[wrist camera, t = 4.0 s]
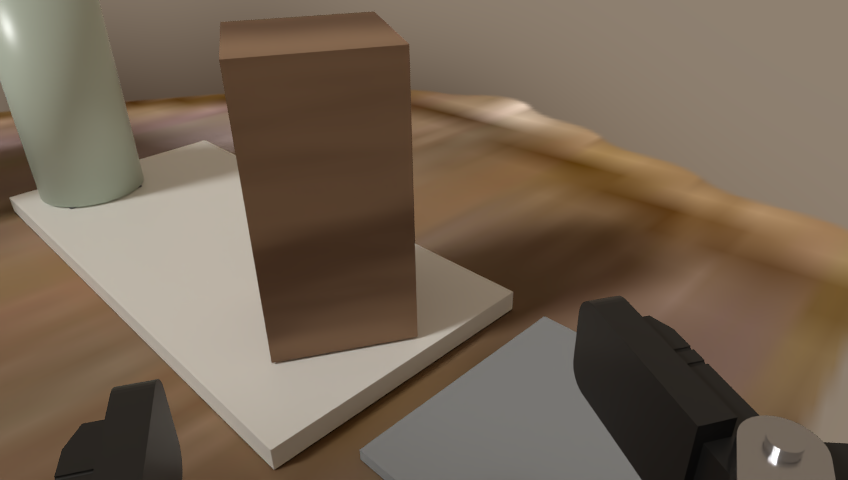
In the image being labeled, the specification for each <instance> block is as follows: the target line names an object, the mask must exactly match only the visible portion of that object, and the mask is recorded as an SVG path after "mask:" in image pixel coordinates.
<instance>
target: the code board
mask: <svg viewBox="0 0 848 480" xmlns="http://www.w3.org/2000/svg"><path fill="white" fill-rule="evenodd" d="M139 160H140V164H141V168H142V172H143V176H144V180H143V182H142V184H141V185H140V186H139V187H138V188H137V189H135V190H134V191H132V192H131V193H129V194H127V195H125V196H122V197H120V198H117V199H114V200H111V201H108V202H104V203H100V204H95V205H90V206H82V207H58V206H52V205H49V204H46V203H45V202H43V201H42V200H41V198H40V195H39V192H38V189H37V190H33V191H30V192H26V193H23V194H19V195H16V196H13V197H9V198H10V201H11V204H12V206H13V209H14V212H16V213H17V214H18V215H19V216H20V217H21V218H22V219H23V220H24V221H25V222H26V223H27V224H28V225H29V226H30V227H31V228H32V229H33V230H34V231H35V232H36V233H37V234H38V235H39V236H40V237H41V238H42V239H43V240H44V241H45V242H46V243H47V244H48V245H49V246H50V247H51V248H52V249H53V250H54V251H55V252H56V253H57V254H58V255H59V256H60V257H61V258H62V259H63V260H64V261H65V262H66V263H67V264H68V265H69V266H70V267H71V268H72V269H73V270H74V271H75V272H76V273H77V274H78V275H79V276H80V277H81V278H82V279H83V280H84V281H85V282H86V283H87V284H88V285H89V286H90V287H91V288H92V289H93V290H94V291H95V292H96V293H97V294H98V295H99V296H100V297H101V298H102V299H103V300H104V301H105V302H106V303H107V304H108V305H109V306H110V307H111V308H112V309H113V310H114V311H115V312H116V313H117V314H118V315H119V316H120V317H121V318H122V319H123V320H124V321H125V322H126V323H127V324H128V325H129V326H130V327H131V328H132V329H133V330H134V331H135V332H136V333H137V334H138V335H139V336H140V337H141V338H142V339H143V340H144V341H145V342H146V343H147V344H148V345H149V346H150V347H151V348H152V349H153V350H154V351H155V352H156V353H157V354H158V355H159V356H160V357H161V358H162V359H163V360H164V361H165V362H166V363H167V364H168V365H169V366H170V367H171V368H172V369H173V370H174V371H175V372H176V373H177V374H178V375H179V376H180V377H181V378H182V379H183V380H184V381H185V382H186V383H187V384H188V385H189V386H190V387H191V388H192V389H193V390H194V391H195V392H196V393H197V394H198V395H199V396H200V397H201V398H202V399H203V400H204V401H205V402H206V403H207V404H208V405H209V406H210V407H211V408H212V409H213V410H214V411H215V412H216V413H217V414H218V415H219V416H220V417H221V418H222V419H223V420H224V421H225V422H226V423H227V424H228V425H229V426H230V427H231V428H233V429H234V430H235V431H236V432H237V433H238V434H239V435H240V436H241V437H242V438H243V439H244V440H245V441H246V442H247V443H248V444H249V445H250V446H251V447H252V448H253V449H254V450H255V451H256V452H257V453H258V454H259V455H260V456H261V457H262V458H263V459H264V460H265V461H266V462H267V463H268V464H269V465H270V466H271V467H272V468H273V469H274V470H275V469H276V468H278V467H279V466H281V465H282V464H284V463H285V462H287V461H288V460H290V459H291V458H293V457H294V456H296V455H297V454H298V453H300V452H301V451H303V450H304V449H306V448H307V447H309V446H310V445H312V444H313V443H315V442H316V441H318V440H319V439H321V438H322V437H324V436H325V435H327V434H328V433H329V432H331V431H332V430H334V429H335V428H337V427H338V426H340V425H341V424H343V423H344V422H346V421H347V420H349V419H350V418H352V417H353V416H355V415H356V414H358V413H359V412H361V411H362V410H363V409H365V408H366V407H368V406H369V405H371V404H372V403H374V402H375V401H377V400H378V399H380V398H381V397H383V396H384V395H386V394H387V393H389V392H390V391H392V390H393V389H395V388H396V387H397V386H399V385H400V384H402V383H403V382H405V381H406V380H408V379H409V378H411V377H412V376H414V375H415V374H417V373H418V372H420V371H421V370H423V369H424V368H426V367H427V366H428V365H430V364H431V363H433V362H434V361H436V360H437V359H439V358H440V357H442V356H443V355H445V354H446V353H448V352H449V351H451V350H452V349H454V348H455V347H457V346H458V345H460V344H461V343H462V342H464V341H465V340H467V339H468V338H470V337H471V336H473V335H474V334H476V333H477V332H479V331H480V330H482V329H483V328H485V327H486V326H488V325H489V324H491V323H492V322H493V321H495V320H496V319H498V318H499V317H501V316H502V315H504V314H505V313H507V312H508V311H510V310H511V309H512V305H513V291H510V290H508V289H506V288H504V287H502V286H500V285H498V284H496V283H494V282H492V281H490V280H488V279H486V278H484V277H482V276H480V275H478V274H476V273H474V272H472V271H470V270H468V269H466V268H464V267H462V266H460V265H458V264H456V263H454V262H452V261H450V260H447V259H445V258H443V257H441V256H439V255H437V254H435V253H433V252H431V251H429V250H427V249H425V248H423V247H421V246H419V245H417V244H415V262H416V296H417V331H418V337H414V338H408V339H402V340H397V341H391V342H386V343H380V344H375V345H369V346H363V347H358V348H352V349H347V350H341V351H336V352H330V353H324V354H319V355H313V356H308V357H302V358H297V359H291V360H285V361H280V362H274V363H272V362H271V356H270V351H269V345H268V339H267V333H266V327H265V322H264V316H263V310H262V304H261V299H260V293H259V287H258V281H257V275H256V270H255V264H254V258H253V252H252V246H251V241H250V235H249V229H248V223H247V218H246V212H245V206H244V200H243V194H242V189H241V183H240V177H239V171H238V165H237V160H236V155H234V154H232V153H230V152H228V151H226V150H224V149H222V148H220V147H218V146H216V145H214V144H212V143H210V142H208V141H206V140H204V141H201V142H197V143H194V144H190V145H187V146H183V147H180V148H177V149H173V150H170V151H166V152H163V153H160V154H156V155H153V156H149V157H146V158H142V159H139Z"/></svg>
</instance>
